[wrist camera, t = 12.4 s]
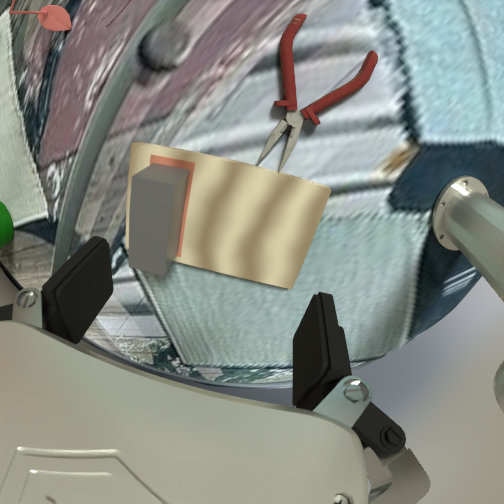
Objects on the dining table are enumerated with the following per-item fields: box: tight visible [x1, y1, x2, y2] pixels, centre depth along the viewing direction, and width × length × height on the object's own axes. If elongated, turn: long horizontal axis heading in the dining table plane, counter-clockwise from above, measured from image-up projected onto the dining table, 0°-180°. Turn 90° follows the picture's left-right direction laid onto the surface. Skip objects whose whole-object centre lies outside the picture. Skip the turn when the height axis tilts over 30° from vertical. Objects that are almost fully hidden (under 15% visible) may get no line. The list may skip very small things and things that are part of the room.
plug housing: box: [129, 163, 190, 277], centre depth 32 cm, size 12×5×6 cm, turn 166°
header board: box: [126, 142, 331, 289], centre depth 35 cm, size 26×16×5 cm, turn 76°
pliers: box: [258, 14, 378, 173], centre depth 27 cm, size 12×20×3 cm, turn 156°
